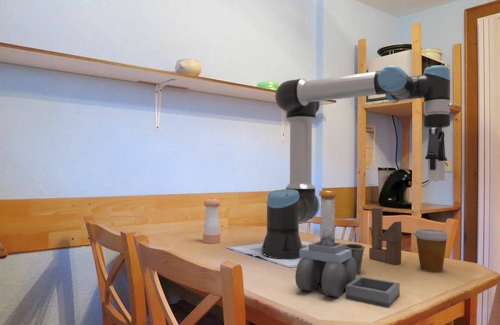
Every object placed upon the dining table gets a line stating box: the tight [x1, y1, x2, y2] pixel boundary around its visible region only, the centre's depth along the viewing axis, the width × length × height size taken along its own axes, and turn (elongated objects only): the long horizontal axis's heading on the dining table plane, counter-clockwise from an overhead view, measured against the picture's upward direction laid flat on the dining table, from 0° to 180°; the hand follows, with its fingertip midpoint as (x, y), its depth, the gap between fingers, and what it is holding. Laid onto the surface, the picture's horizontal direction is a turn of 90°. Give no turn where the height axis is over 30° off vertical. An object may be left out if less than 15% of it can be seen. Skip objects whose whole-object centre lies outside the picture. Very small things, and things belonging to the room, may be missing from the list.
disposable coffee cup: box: [414, 228, 449, 273], centre depth 117 cm, size 10×10×12 cm
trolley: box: [295, 240, 358, 298], centre depth 97 cm, size 11×16×12 cm
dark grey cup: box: [345, 243, 365, 274], centre depth 111 cm, size 6×13×8 cm, turn 146°
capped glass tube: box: [318, 190, 337, 247], centre depth 97 cm, size 4×4×15 cm
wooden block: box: [368, 206, 402, 266], centre depth 128 cm, size 4×11×18 cm, turn 31°
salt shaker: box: [202, 196, 221, 244], centre depth 159 cm, size 7×7×19 cm
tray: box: [345, 276, 401, 308], centre depth 90 cm, size 10×10×3 cm
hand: (436, 180), depth 119 cm, fingers open, 13 cm apart
